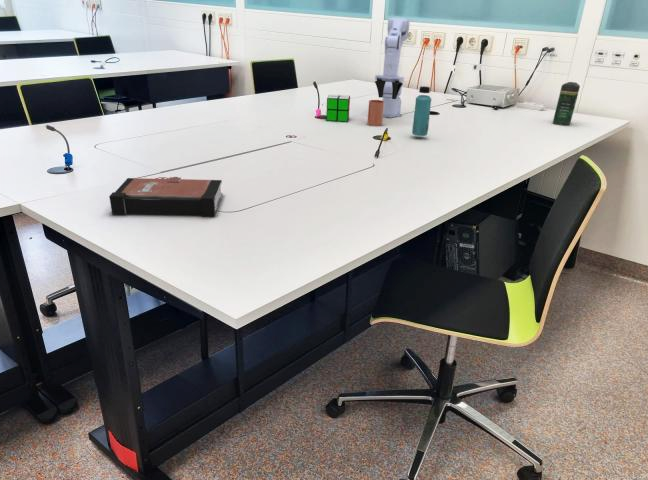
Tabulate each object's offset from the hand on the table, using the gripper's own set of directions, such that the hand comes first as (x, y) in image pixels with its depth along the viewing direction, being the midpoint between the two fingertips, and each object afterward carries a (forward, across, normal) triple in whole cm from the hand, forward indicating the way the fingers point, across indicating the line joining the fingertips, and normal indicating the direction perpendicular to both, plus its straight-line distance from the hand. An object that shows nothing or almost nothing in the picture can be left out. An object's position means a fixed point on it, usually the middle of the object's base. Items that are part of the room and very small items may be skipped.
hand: (387, 98), depth 245 cm
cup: (+11, 0, -7) cm, 13 cm away
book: (+21, +28, -132) cm, 137 cm away
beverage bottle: (+13, +28, -13) cm, 33 cm away
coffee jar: (+8, +55, +67) cm, 87 cm away
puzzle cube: (+11, -18, -12) cm, 24 cm away
